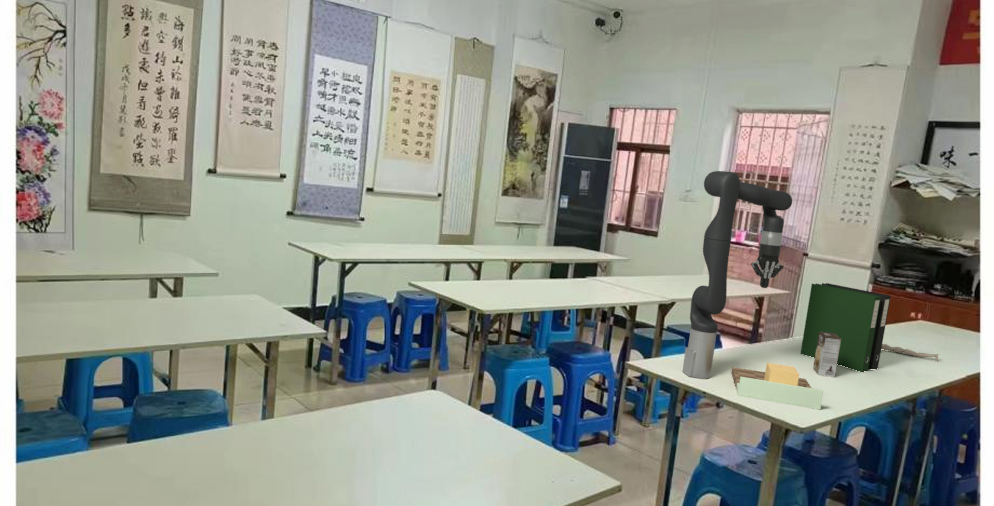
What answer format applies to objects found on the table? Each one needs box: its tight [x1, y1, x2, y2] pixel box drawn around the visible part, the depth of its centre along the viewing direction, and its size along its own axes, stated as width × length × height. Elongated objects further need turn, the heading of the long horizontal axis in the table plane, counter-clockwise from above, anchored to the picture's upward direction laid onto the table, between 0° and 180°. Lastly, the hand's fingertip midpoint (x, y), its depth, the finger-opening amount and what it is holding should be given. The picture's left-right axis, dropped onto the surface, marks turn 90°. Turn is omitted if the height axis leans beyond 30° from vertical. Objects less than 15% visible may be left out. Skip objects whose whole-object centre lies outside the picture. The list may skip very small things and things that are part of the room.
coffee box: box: [812, 332, 841, 378], centre depth 265 cm, size 9×6×16 cm
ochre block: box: [764, 362, 800, 386], centre depth 227 cm, size 9×9×8 cm
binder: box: [800, 282, 892, 373], centre depth 287 cm, size 27×15×32 cm, turn 36°
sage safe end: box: [735, 377, 824, 410], centre depth 225 cm, size 7×26×6 cm, turn 75°
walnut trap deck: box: [730, 366, 812, 388], centre depth 236 cm, size 27×26×2 cm
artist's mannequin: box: [881, 343, 939, 362], centre depth 316 cm, size 28×4×30 cm
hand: (763, 287), depth 256 cm, fingers closed
